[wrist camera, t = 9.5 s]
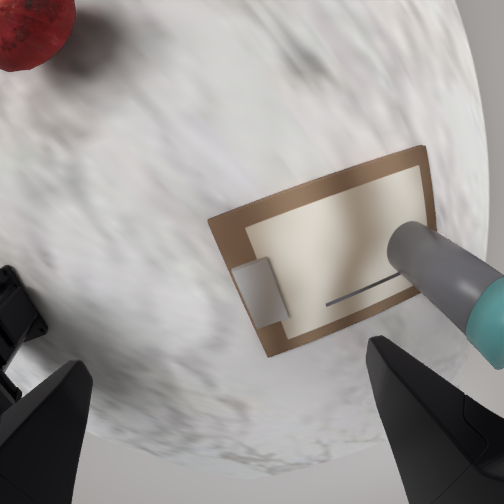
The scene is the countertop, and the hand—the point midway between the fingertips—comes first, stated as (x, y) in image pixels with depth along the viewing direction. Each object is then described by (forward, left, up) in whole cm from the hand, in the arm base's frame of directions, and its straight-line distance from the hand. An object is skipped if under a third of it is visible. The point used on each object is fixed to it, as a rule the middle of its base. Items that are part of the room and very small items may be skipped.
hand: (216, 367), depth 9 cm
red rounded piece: (-5, +17, -13) cm, 21 cm away
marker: (+13, -6, -12) cm, 19 cm away
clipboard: (+8, -5, -12) cm, 16 cm away
